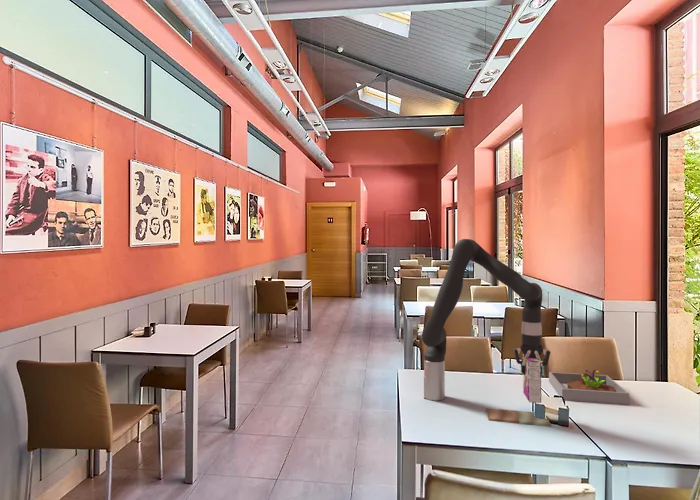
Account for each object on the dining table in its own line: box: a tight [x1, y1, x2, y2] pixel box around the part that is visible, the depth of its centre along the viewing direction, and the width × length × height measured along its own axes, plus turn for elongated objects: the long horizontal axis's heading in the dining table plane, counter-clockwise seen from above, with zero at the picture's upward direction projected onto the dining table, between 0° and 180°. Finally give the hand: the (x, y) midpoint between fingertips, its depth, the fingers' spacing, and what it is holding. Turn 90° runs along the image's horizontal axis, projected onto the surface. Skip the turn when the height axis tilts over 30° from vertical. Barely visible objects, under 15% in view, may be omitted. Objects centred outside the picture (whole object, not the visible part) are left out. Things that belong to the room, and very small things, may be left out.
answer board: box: [485, 408, 551, 427], centre depth 172 cm, size 23×11×2 cm, turn 76°
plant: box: [566, 368, 616, 392], centre depth 204 cm, size 20×20×11 cm
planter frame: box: [548, 371, 630, 406], centre depth 201 cm, size 27×27×5 cm
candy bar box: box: [522, 353, 542, 404], centre depth 170 cm, size 11×5×16 cm, turn 168°
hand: (531, 374), depth 170 cm, fingers closed on candy bar box, 5 cm apart
